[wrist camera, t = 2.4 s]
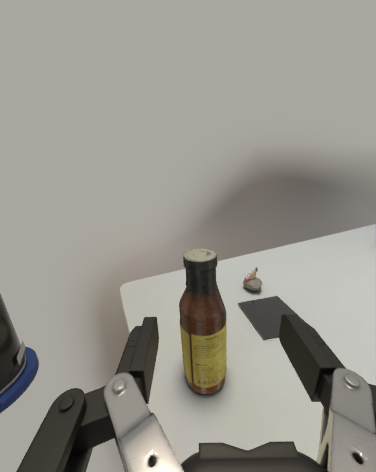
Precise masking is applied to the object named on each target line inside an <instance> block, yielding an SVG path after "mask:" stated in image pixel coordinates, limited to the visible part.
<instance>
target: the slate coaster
mask: <svg viewBox="0 0 376 472" xmlns="http://www.w3.org/2000/svg"><path fill="white" fill-rule="evenodd" d="M238 305H239V306H240V308H241V309H242V311H243V312H244V313H245V315H246V316H247V317H248V319H249V320H250V322H251V323H252V324H253V326H254V327H255V329H256V330H257V331H258V333H259V334H260V335H261V337H262V338H263V340H266V339H270V338H275V337H279V330H280V323H281V317H282V315H283V314H296V313H295V312H294V311H293V310H292V309H291V308H290V307H288V306H287V305H286V304H285V303H284V302H283V301H282V300H281V299H280V298H279V297H278V296H275V297H269V298H264V299H258V300H252V301H247V302H241V303H238ZM296 315H297V314H296ZM297 316H298V315H297ZM298 317H299V316H298ZM299 319H300V320H301V321H302V323H306V322H305V321H304V320H302V319H301V318H300V317H299Z"/></svg>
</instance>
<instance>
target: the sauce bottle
mask: <svg viewBox="0 0 376 472" xmlns="http://www.w3.org/2000/svg"><path fill="white" fill-rule="evenodd" d="M183 259H184V266H185V268H186V286H187V287H186V289H185V291H184V293H183V295H182V297H181V299H180V304H179V308H180V328H181V339H182V351H183V363H184V372H185V377H186V379H187V382H188V384H189V385H190V386H191V387H192V388H193V390H194V391H196V392H198V393H200V394H212V393H214V392H217V391H218V390H219V389H220V388H221V386H222V385H223V383H224V380H225V373H226V310H225V307H224V304H223V301H222V298H221V295H220V293H219V290H218V287H217V282H216V266H217V255H216V253H215V252H214V251H212V250H210V249H203V248H202V249H201V248H199V249H192V250H189V251H187V252H186V253H185V254H184V257H183Z"/></svg>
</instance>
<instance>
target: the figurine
mask: <svg viewBox="0 0 376 472" xmlns="http://www.w3.org/2000/svg"><path fill="white" fill-rule="evenodd" d="M255 271H256V272H257V267H256V268H255V270H254V273H253V272H251V273H253V274H251V273H250V274H251V275H250V274H249V275H250V276H248V275H247V276H248V277H247V278H246V277H245V279H244V282H243V284H244V287H245V288H248V289H249V290H251V291H259V290H261V286H262V281H261V280H260V279H259V278H256V272H255Z"/></svg>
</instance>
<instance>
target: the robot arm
mask: <svg viewBox="0 0 376 472" xmlns="http://www.w3.org/2000/svg"><path fill="white" fill-rule="evenodd" d="M279 339H280V342H281V345H282V346H283V348H284V350H285V352H286V354H287V356H288V358H289V360H290V361H291V363H292V365H293V367H294V369H295V371H296V373H297V374H298V376H299V378H300V380H301V382H302V384H303V386H304V388H305V389H306V391H307V393H308V395H309V397H310V399H311V401H312V402H320V401H321V403H322V405H323V407H324V408H323V412H322V422H321V433H320V443H319V452H318V457H317V462H316V461H314V460H313V459H311V458H310V457H308V456H306V455H304V454H302V453H300V452H297V450H296V447H295V445H294V442H269V443H266V444H264V445H261V446H259V447H257V448H254V449H252V450H249V451H247V450H243V449H240V448H237V447H234V446H231V445H227V444H224V443H199V452H198V453H195V454H193V455H192V456H190V457H189V458H187V459H186V460H185V461H184V462H183V463H182V464H181V465H180V463H179V461H178V459H177V457H176V455H175V453H174V451H173V449H172V447H171V445H170V443H169V441H168V439H167V437H166V435H165V433H164V431H163V429H162V427H161V425H160V424H159V422H158V420H157V418H156V416H155V415H154V413H151V412H150V410H149V409H148V406H147V404H148V402H149V396H150V391H151V385H152V379H153V373H154V367H155V361H156V356H157V350H158V342H159V335H158V325H157V317H145V318H144V320H143V324H142V326H136V327H135V328H134V329H133V330H132V331H131V333H130V335H129V338H128V342H127V344H126V347H125V349H124V352H123V355H122V357H121V361H120V363H119V366H118V369H117V371H116V374H115V376H113V377H112V378H111V379H110V380H109V381H108V382H107V384H106V385H105V386H104V387H102V388H100V389H97V390H94V391H91V392H89V393H86V394H84V392H83V391H82V390H81V389H78V388H74V389H70V390H68V391H66V392H64V393H62V394H61V395H60V396H59V397H58V398H57V399H56V400H55V401H54V402H53V404H52V405H51V407H50V409H49V411H48V413H47V415H46V417H45V418H44V420H43V422H42V424H41V426H40V428H39V430H38V432H37V434H36V436H35V437H34V439H33V441H32V443H31V445H30V447H29V449H28V451H27V453H26V454H25V456H24V458H23V460H22V462H21V464H20V466H19V468H18V470H17V472H86V469H87V466H88V462H89V459H90V456H91V452H92V449H93V447H95V446H97V445H99V444H101V443H103V442H106V441H108V440H110V439H113V438H115V442H116V445H117V448H118V451H119V454H120V458H121V460H122V464H123V467H124V470H125V472H376V386H375V385H371V384H368V383H367V382H366V381H365V380H364V379H363V378H362V377H361V376H359V375H358V374H356V373H355V372H353V371H351V370H348V369H346V368H345V367H344V366H343V364H342V363H341V362H340V361H339V359H338V358H337V357H336V356H335V354H334V353H333V352H332V351H331V349H330V348H329V347H328V345H327V344H325V342H324V340H323V339H322V338H321V337H320V335H319V334H318V333H317V332H316V330H315V329H314V328H312V327H311V326H310V325H308V324H307V323H302V321H301V320H300V319H299V317H298V316H297V315H296V314H283V315H282V317H281V323H280V330H279ZM24 351H25V345H24V343H23V342H22V344H21V345H20V342H19V340H18V337H17V334H16V332H15V329H14V327H13V324H12V322H11V320H10V317H9V315H8V312H7V309H6V307H5V305H4V302H3V299H2V297H1V294H0V396H2V395H3V394H4V393H6V392H7V391H8V390H9V389H10V388H11V387H12V386H13V385H14V384H15V383H16V382H17V381H18V380H19V379H20V377H21V376H22V374H23V373H24V371H25V369H26V366H27V358H26V355H25V353H24Z"/></svg>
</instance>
